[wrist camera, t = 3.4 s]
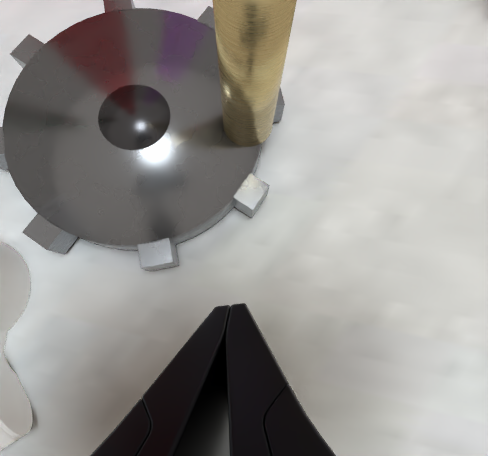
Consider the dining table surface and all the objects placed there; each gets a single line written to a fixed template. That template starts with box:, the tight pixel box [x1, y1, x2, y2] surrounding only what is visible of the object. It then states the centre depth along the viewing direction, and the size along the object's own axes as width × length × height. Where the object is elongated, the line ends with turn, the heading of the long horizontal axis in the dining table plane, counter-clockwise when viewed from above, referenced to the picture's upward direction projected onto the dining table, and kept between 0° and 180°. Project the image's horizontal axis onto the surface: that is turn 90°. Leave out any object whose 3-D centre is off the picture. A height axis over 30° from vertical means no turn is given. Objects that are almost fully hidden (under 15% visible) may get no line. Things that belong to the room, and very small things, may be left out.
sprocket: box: [0, 0, 297, 271], centre depth 17 cm, size 19×19×12 cm
